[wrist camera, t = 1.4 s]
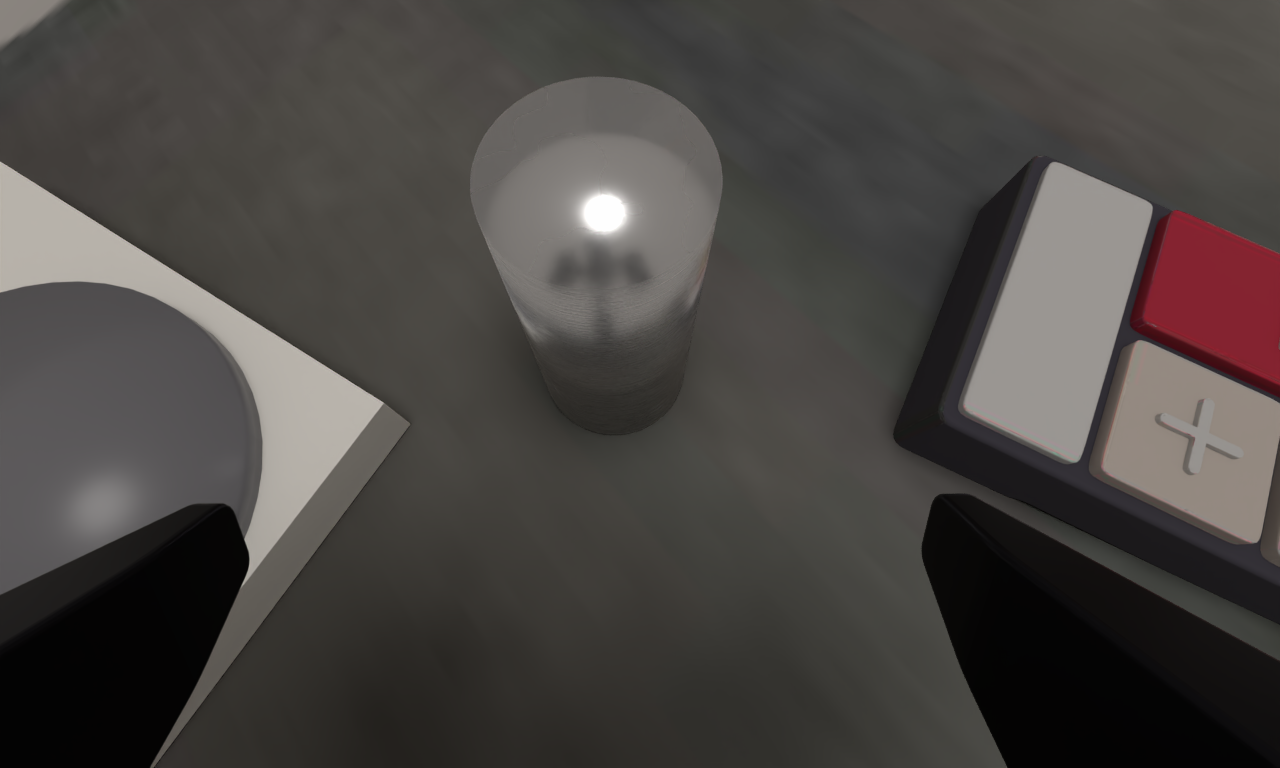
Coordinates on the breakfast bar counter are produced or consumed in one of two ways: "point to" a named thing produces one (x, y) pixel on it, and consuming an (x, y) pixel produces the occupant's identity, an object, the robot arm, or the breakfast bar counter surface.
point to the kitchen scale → (160, 414)
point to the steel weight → (601, 240)
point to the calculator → (1115, 377)
